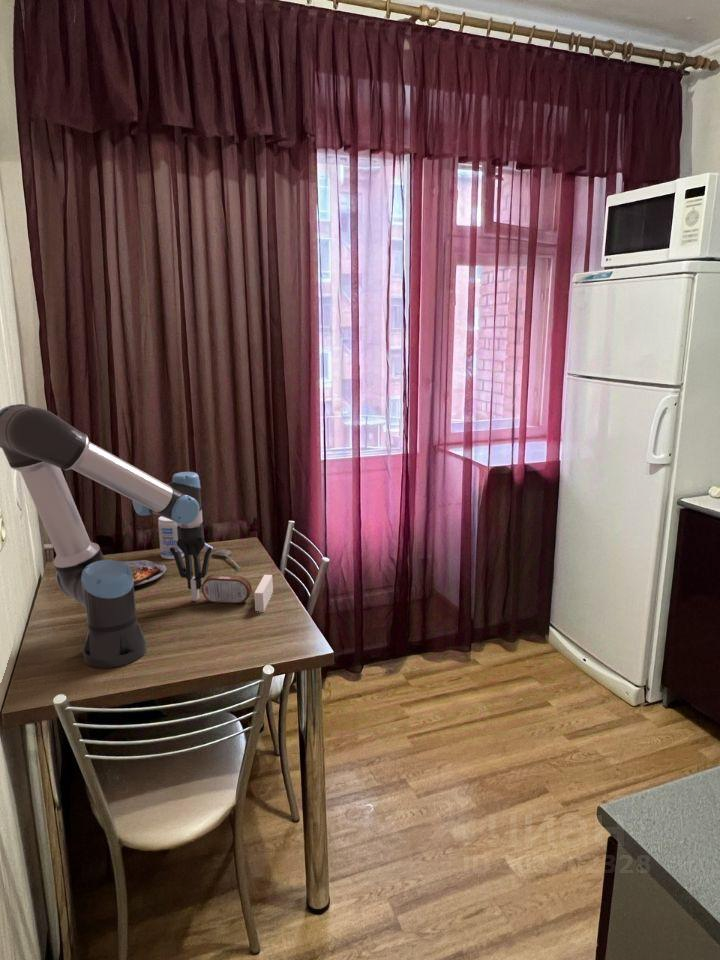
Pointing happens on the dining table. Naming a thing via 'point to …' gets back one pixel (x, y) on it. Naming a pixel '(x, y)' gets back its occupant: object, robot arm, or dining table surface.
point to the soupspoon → (226, 553)
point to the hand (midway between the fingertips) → (195, 598)
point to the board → (263, 593)
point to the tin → (226, 589)
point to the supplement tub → (167, 537)
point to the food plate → (146, 571)
